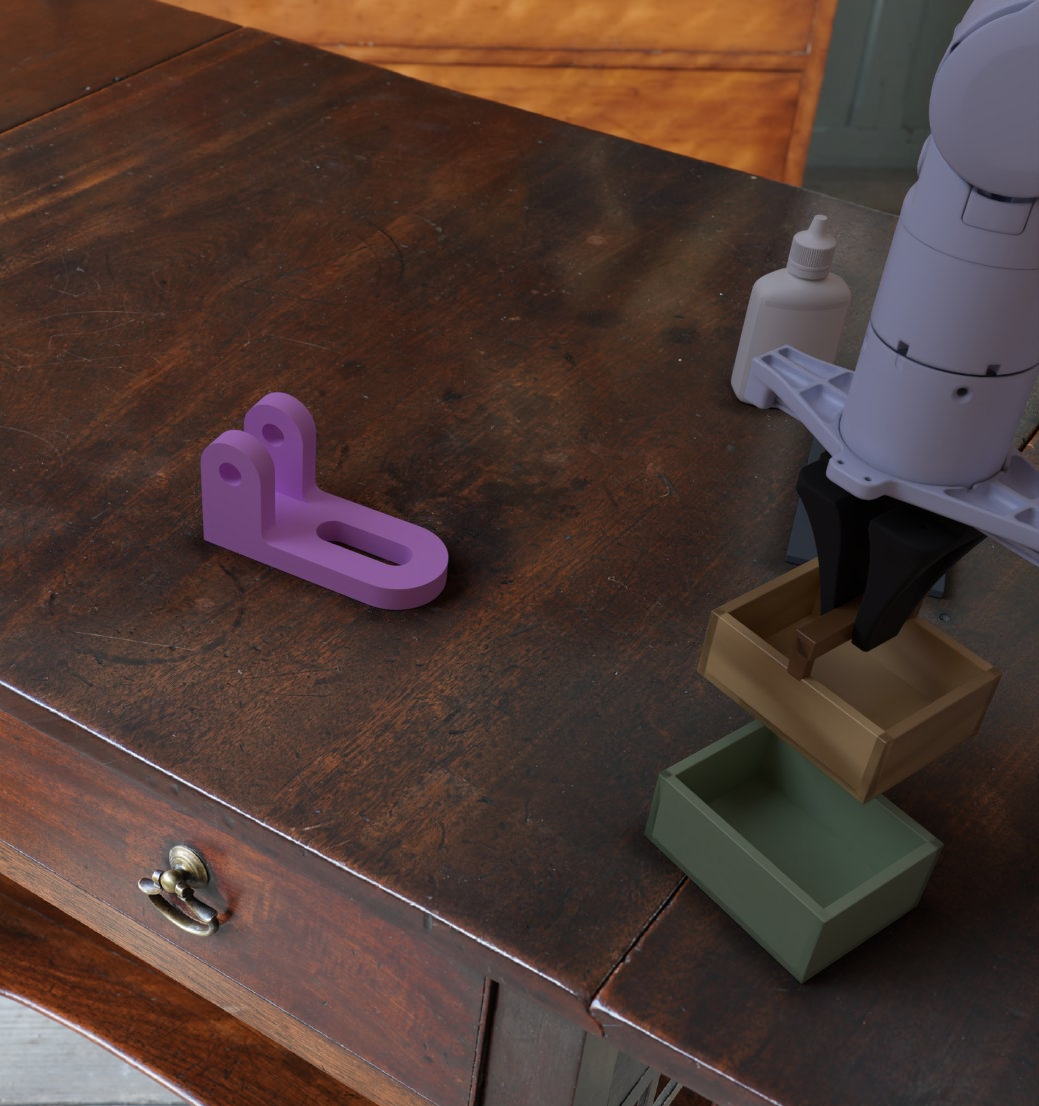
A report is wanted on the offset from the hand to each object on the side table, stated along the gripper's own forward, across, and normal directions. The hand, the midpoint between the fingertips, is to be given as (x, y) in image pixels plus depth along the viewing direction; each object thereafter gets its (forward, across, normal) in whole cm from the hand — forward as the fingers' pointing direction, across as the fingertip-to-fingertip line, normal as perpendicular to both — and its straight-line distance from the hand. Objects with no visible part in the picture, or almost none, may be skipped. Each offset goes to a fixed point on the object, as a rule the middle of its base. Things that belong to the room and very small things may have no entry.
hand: (858, 627), depth 58 cm
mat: (+10, -13, +20) cm, 26 cm away
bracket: (+11, -26, -8) cm, 29 cm away
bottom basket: (+10, +2, -4) cm, 11 cm away
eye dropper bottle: (+11, -24, +24) cm, 35 cm away
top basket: (+4, 0, 0) cm, 4 cm away
